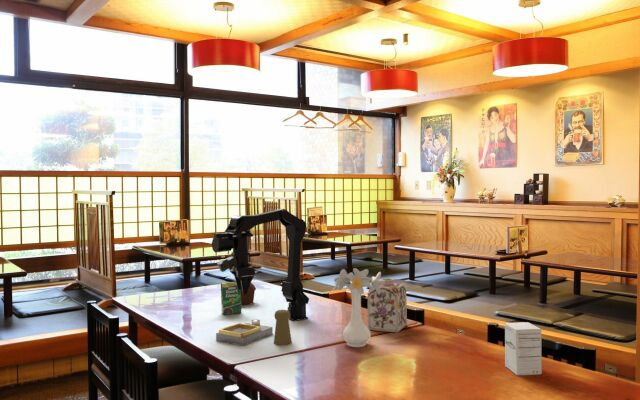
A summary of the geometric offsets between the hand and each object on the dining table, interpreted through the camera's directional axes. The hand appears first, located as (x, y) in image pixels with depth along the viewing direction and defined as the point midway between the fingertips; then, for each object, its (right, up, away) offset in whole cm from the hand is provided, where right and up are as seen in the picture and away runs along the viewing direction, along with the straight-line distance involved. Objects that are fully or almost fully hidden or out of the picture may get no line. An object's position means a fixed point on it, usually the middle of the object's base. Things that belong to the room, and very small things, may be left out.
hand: (242, 291), depth 195 cm
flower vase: (+41, -14, -21) cm, 48 cm away
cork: (+16, -14, -18) cm, 28 cm away
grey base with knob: (+3, -14, -11) cm, 18 cm away
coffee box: (-8, -14, +25) cm, 30 cm away
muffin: (-6, -13, +45) cm, 48 cm away
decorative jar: (+54, -13, -1) cm, 55 cm away
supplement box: (+85, -14, -48) cm, 99 cm away
